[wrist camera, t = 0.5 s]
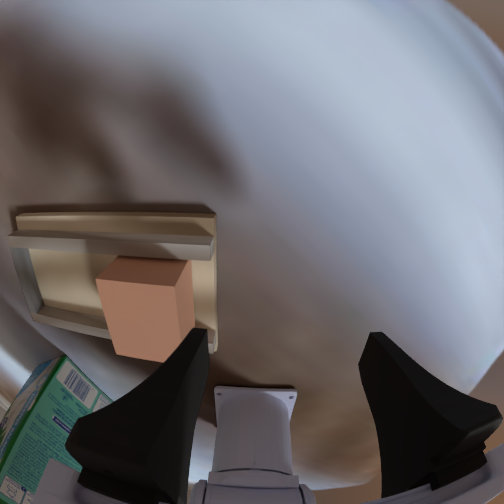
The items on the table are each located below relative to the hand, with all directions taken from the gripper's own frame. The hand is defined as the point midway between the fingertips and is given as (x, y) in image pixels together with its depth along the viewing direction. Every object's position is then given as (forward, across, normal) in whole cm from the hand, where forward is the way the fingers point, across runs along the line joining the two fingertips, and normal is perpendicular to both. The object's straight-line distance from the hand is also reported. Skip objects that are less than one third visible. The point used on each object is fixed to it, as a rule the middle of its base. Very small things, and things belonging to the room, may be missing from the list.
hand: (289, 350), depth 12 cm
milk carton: (+9, +24, +19) cm, 32 cm away
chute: (+9, +13, +2) cm, 16 cm away
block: (+7, +8, +2) cm, 11 cm away
